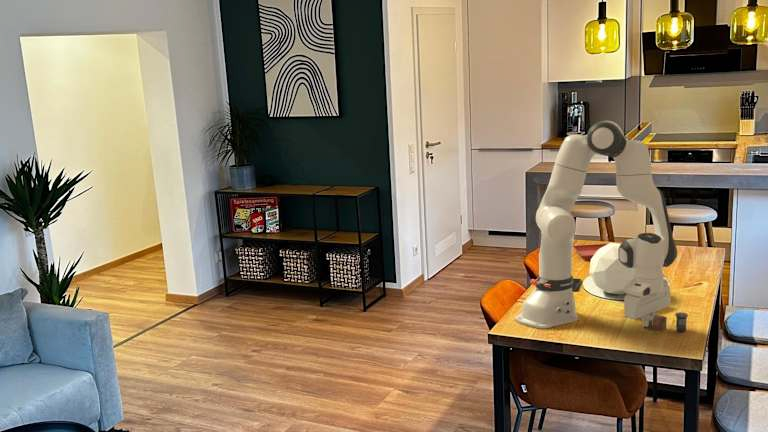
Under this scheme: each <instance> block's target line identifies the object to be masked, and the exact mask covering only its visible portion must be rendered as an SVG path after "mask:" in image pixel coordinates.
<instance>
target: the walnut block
mask: <svg viewBox="0 0 768 432" xmlns="http://www.w3.org/2000/svg"><path fill="white" fill-rule="evenodd" d="M643 329H645V330H647V329H648V331H650V332H655V333H658V332H662V331H664V330H666V329H667V316H664V315H660V314H658V313H655V316H654V319H653V324H652V325H650V326H647V327H646V326H643Z"/></svg>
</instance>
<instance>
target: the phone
mask: <svg viewBox="0 0 768 432" xmlns="http://www.w3.org/2000/svg"><path fill="white" fill-rule="evenodd" d="M581 283H582V279H581V278H574V277H573V287H572V291H573V293H575V292H578V291H579V288H580V286H581Z"/></svg>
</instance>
